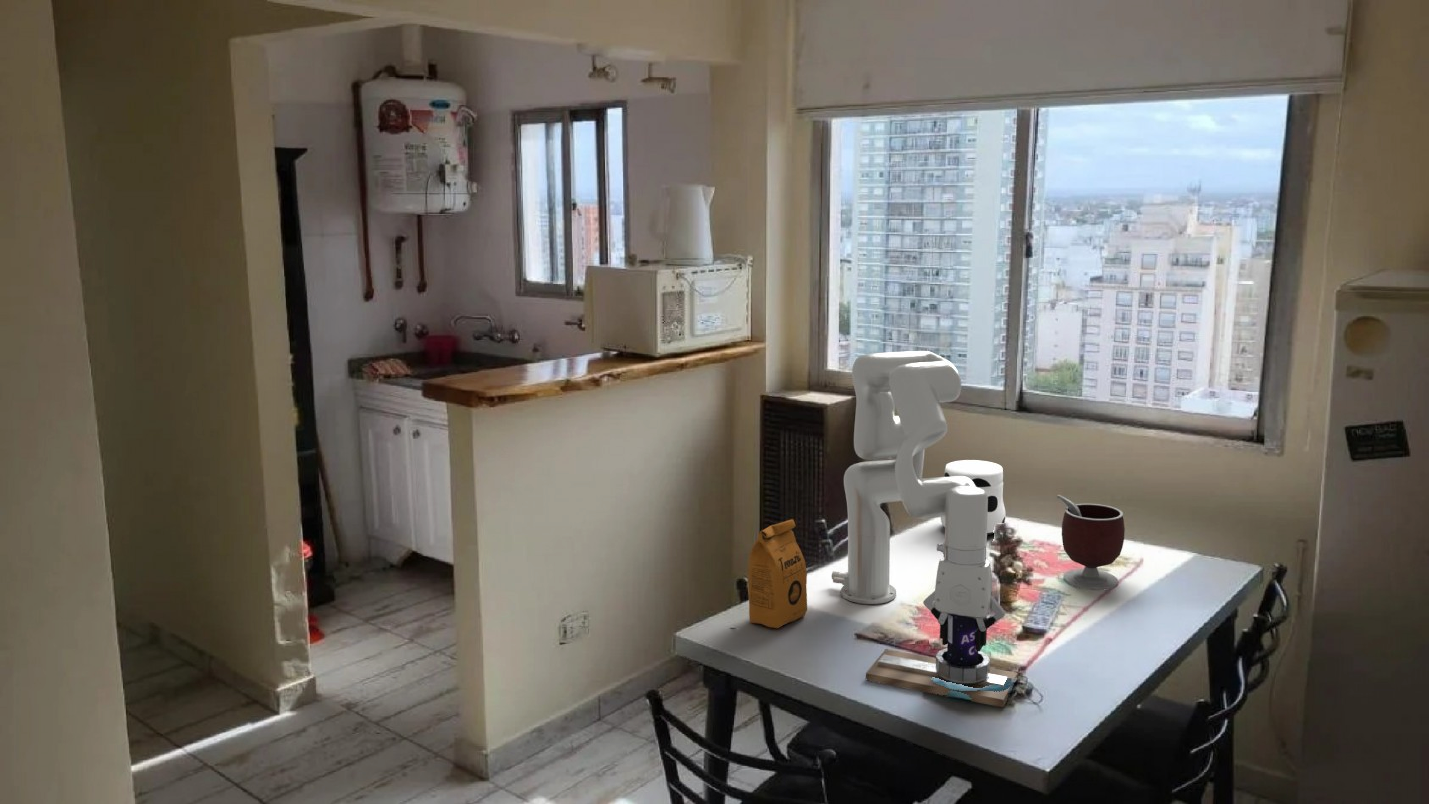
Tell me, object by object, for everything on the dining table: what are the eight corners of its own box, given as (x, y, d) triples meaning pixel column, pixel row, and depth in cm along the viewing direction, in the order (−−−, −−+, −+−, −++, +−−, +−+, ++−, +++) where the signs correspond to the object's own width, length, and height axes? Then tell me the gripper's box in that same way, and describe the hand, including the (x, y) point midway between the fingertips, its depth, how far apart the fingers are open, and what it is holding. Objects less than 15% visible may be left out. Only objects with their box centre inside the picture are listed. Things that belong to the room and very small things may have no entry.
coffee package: (814, 617, 233) (814, 522, 229) (776, 634, 224) (775, 535, 220) (781, 606, 240) (780, 512, 236) (742, 622, 231) (741, 525, 227)
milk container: (1004, 522, 296) (1005, 460, 293) (1005, 542, 280) (1007, 476, 276) (940, 519, 300) (942, 458, 297) (938, 538, 284) (940, 473, 280)
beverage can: (960, 673, 196) (962, 612, 193) (940, 662, 201) (941, 602, 198) (984, 666, 198) (986, 606, 196) (964, 655, 203) (965, 596, 201)
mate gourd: (1127, 576, 253) (1131, 496, 249) (1114, 595, 242) (1118, 511, 238) (1061, 565, 261) (1064, 487, 258) (1045, 583, 250) (1049, 502, 246)
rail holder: (872, 671, 203) (873, 652, 202) (888, 652, 211) (888, 633, 210) (999, 695, 192) (1000, 675, 191) (1010, 674, 200) (1011, 655, 200)
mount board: (865, 680, 203) (865, 673, 202) (885, 656, 213) (885, 648, 213) (1003, 707, 191) (1003, 699, 190) (1017, 680, 201) (1017, 672, 201)
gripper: (913, 553, 196) (912, 645, 199) (1008, 566, 188) (1004, 661, 191) (925, 541, 202) (923, 630, 206) (1016, 553, 195) (1013, 645, 198)
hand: (962, 644), depth 199 cm, fingers closed on beverage can, 5 cm apart
